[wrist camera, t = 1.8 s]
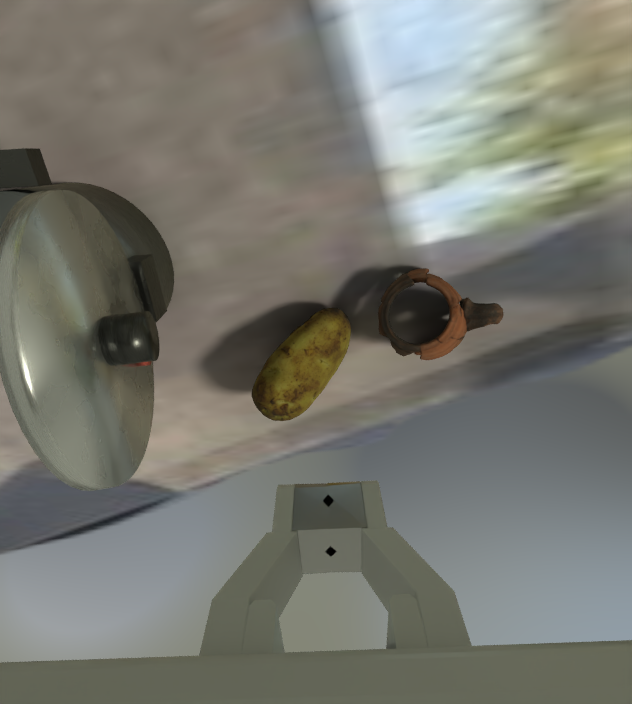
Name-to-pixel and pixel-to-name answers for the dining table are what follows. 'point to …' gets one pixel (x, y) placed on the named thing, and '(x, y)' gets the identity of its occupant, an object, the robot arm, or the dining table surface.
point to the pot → (122, 216)
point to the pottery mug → (459, 318)
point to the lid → (75, 340)
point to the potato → (302, 365)
